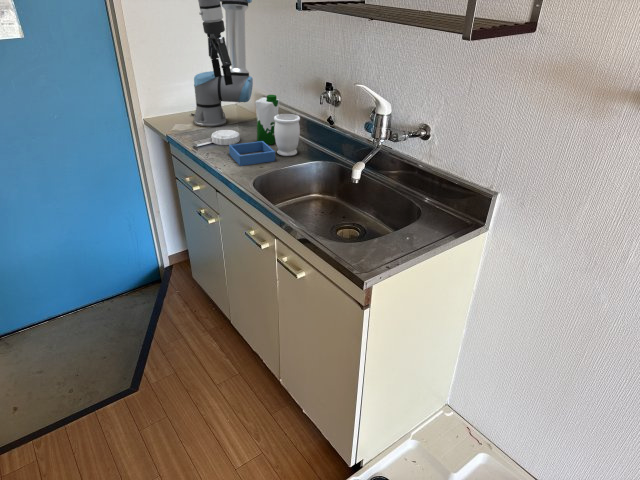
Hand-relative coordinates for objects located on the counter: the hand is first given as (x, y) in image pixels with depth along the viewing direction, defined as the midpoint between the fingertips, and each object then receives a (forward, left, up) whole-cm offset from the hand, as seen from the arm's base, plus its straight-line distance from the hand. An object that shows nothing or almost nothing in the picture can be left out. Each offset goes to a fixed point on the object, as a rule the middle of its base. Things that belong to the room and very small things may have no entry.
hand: (223, 80), depth 181 cm
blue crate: (+11, +7, -28) cm, 31 cm away
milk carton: (-6, +20, -29) cm, 35 cm away
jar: (+11, +22, -29) cm, 37 cm away
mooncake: (-13, +3, -29) cm, 32 cm away
